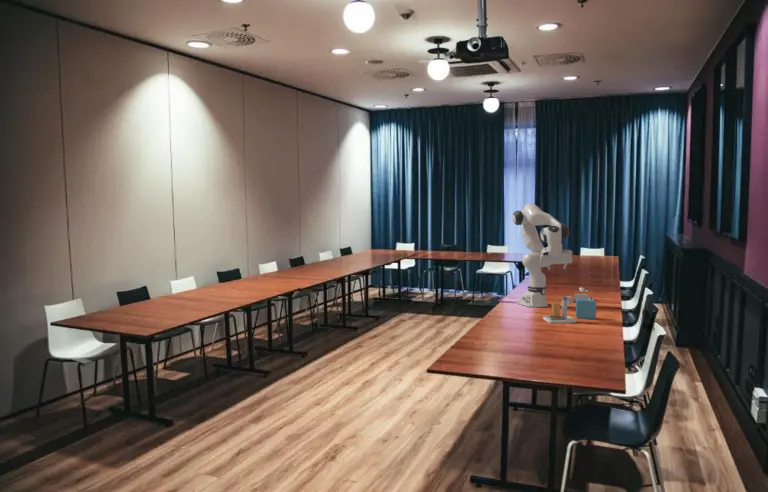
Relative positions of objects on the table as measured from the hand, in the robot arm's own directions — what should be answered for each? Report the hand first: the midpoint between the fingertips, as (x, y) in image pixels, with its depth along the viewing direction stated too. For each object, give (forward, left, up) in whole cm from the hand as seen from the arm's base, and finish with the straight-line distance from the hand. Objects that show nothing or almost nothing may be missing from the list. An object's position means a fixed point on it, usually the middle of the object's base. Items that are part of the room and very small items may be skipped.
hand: (556, 269), depth 366 cm
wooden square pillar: (+9, -11, -30) cm, 33 cm away
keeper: (+10, -9, -31) cm, 34 cm away
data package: (+15, +11, -32) cm, 37 cm away
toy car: (-22, +56, -32) cm, 68 cm away
